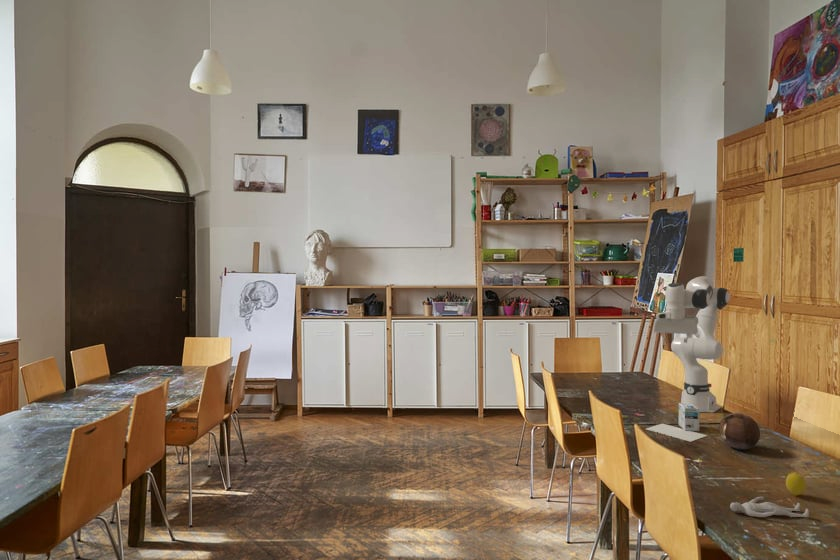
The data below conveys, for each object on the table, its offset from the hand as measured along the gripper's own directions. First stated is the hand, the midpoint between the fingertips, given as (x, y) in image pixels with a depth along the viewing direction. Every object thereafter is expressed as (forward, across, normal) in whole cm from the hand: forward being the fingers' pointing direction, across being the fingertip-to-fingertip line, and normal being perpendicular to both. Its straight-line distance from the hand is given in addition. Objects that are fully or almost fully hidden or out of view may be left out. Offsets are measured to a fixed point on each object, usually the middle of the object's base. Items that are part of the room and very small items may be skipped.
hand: (675, 342), depth 260 cm
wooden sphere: (+40, -24, +33) cm, 58 cm away
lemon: (+40, -36, +78) cm, 95 cm away
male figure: (+40, -25, +97) cm, 108 cm away
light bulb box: (+40, -6, +12) cm, 42 cm away
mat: (+40, 0, +21) cm, 45 cm away
